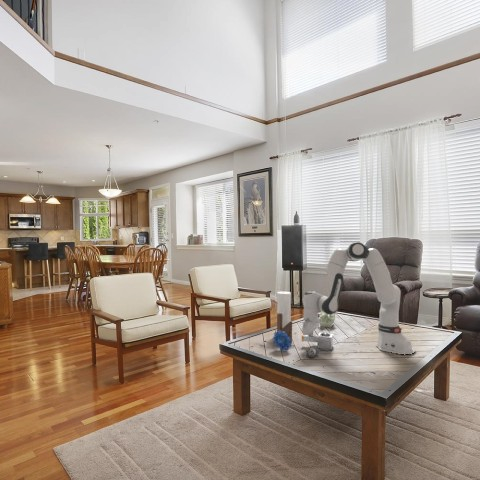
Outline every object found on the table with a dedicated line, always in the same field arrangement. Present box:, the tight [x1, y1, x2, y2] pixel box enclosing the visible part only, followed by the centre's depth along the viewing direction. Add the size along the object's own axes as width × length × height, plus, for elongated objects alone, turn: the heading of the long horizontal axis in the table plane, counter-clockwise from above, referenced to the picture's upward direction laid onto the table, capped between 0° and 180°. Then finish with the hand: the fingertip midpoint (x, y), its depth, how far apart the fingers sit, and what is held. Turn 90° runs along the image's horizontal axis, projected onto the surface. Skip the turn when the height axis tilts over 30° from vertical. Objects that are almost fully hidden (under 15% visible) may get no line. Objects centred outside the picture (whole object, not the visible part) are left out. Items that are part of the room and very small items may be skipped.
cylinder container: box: [276, 291, 292, 333], centre depth 247 cm, size 9×9×30 cm
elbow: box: [301, 332, 334, 349], centre depth 219 cm, size 18×8×7 cm, turn 70°
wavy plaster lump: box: [319, 310, 336, 328], centre depth 272 cm, size 18×13×16 cm
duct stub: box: [305, 346, 319, 359], centre depth 202 cm, size 6×5×5 cm
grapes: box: [272, 330, 292, 351], centre depth 212 cm, size 12×7×12 cm, turn 66°
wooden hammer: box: [276, 312, 293, 344], centre depth 230 cm, size 4×11×18 cm, turn 48°
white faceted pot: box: [316, 332, 335, 352], centre depth 217 cm, size 10×10×9 cm
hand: (310, 338), depth 223 cm, fingers closed
